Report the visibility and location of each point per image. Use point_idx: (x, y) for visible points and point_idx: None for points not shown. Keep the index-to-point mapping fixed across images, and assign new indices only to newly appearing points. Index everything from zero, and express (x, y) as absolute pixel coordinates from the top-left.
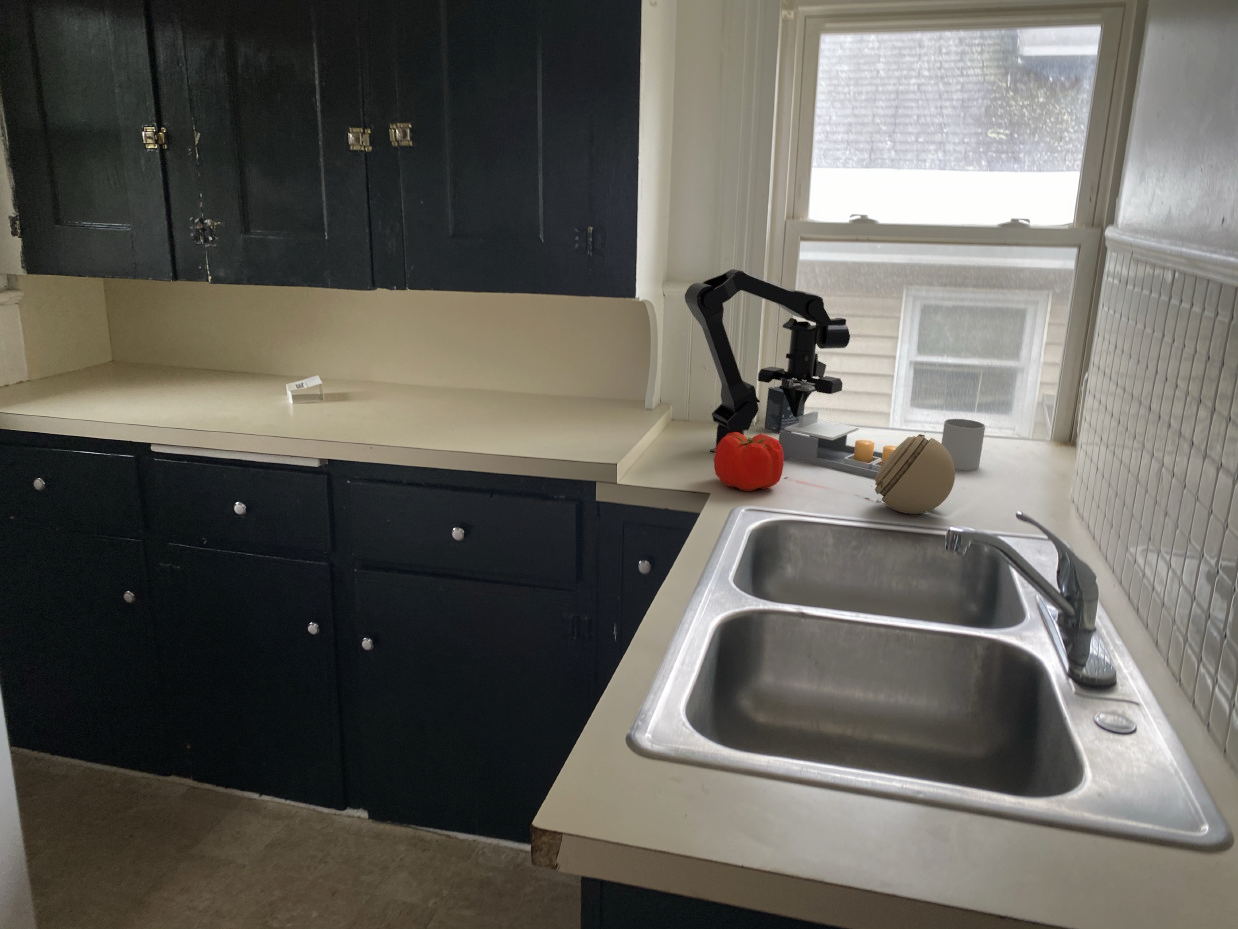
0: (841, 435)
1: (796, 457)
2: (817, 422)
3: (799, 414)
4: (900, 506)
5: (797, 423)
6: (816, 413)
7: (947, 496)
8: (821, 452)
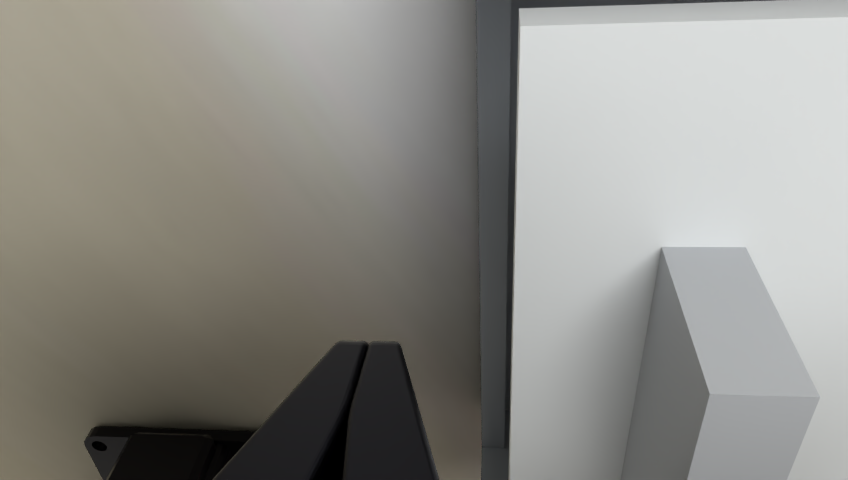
0: None
1: None
2: (753, 254)
3: (407, 370)
4: None
5: (521, 464)
6: (790, 436)
7: None
8: None
